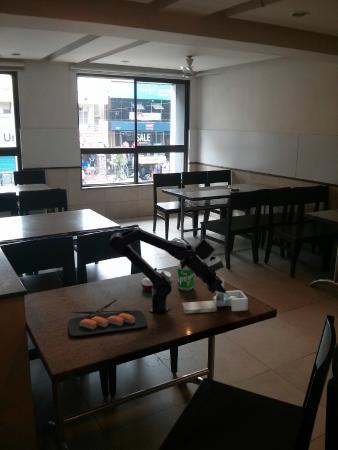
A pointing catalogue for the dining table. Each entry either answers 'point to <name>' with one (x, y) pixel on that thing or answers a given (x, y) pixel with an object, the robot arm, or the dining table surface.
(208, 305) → the beige flat block
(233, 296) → the ball
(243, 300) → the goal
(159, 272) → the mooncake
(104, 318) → the sushi plate
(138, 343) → the dining table surface
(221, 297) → the striker
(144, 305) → the dining table surface
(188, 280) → the soda can
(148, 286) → the cocoa
